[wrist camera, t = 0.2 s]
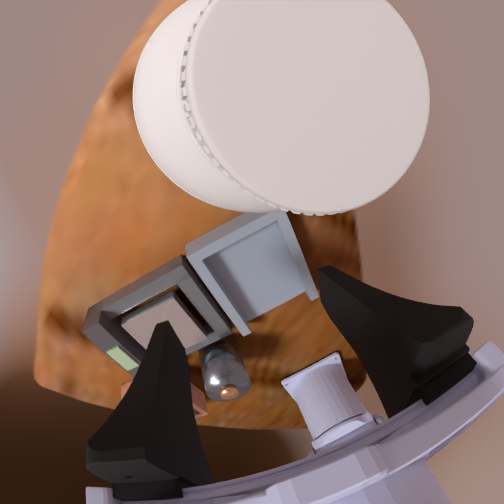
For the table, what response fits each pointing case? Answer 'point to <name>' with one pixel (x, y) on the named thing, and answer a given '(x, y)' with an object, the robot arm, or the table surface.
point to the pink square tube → (197, 399)
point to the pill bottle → (282, 102)
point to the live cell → (224, 370)
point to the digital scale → (108, 310)
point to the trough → (251, 265)
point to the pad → (162, 310)
